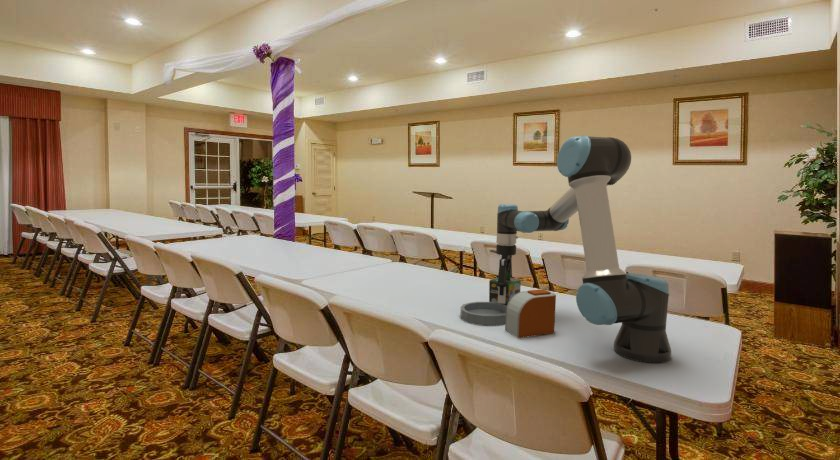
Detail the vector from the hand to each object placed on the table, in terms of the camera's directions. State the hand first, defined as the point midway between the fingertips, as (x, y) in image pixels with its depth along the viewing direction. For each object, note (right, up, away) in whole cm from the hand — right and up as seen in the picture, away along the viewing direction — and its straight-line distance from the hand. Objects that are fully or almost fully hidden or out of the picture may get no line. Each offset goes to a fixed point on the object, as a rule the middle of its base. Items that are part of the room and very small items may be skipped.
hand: (504, 299), depth 181 cm
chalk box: (0, -4, +1) cm, 4 cm away
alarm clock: (+4, -7, -27) cm, 28 cm away
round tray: (-9, -5, -12) cm, 16 cm away
